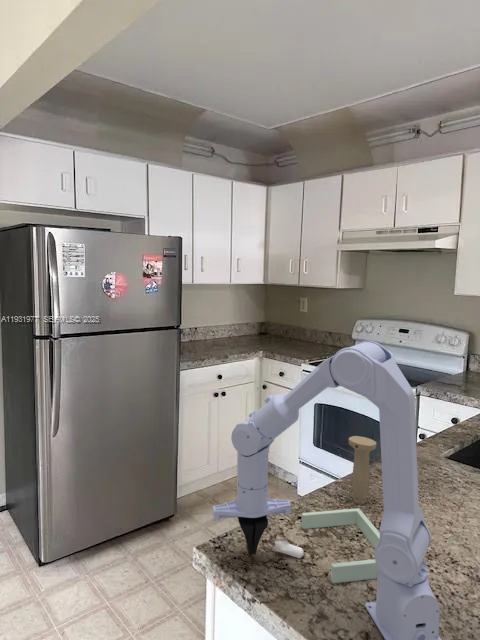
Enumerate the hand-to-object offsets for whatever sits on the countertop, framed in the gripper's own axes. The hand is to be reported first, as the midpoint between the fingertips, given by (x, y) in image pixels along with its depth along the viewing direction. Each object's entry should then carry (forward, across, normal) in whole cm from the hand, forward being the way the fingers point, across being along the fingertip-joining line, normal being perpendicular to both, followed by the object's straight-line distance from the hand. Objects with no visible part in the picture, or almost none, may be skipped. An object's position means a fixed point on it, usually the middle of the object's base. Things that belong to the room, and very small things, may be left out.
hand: (251, 551), depth 85 cm
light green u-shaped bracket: (+1, -19, 0) cm, 19 cm away
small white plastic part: (+2, -7, 0) cm, 8 cm away
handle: (+2, -30, -17) cm, 34 cm away
